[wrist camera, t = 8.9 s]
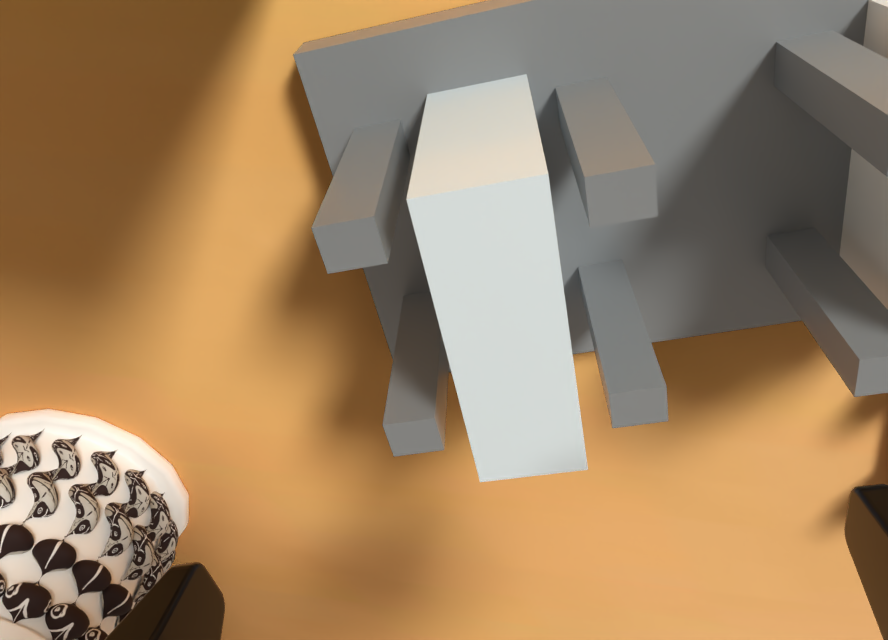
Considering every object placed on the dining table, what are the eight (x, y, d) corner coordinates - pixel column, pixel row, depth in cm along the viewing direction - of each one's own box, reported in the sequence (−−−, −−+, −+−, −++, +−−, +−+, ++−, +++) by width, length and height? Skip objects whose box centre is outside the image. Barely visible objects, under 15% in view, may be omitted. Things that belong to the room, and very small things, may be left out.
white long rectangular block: (560, 316, 20) (588, 469, 15) (479, 328, 20) (480, 482, 16) (526, 74, 16) (548, 174, 11) (427, 93, 17) (406, 199, 12)
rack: (1006, 264, 20) (1205, 421, 14) (402, 356, 23) (379, 517, 17) (1115, -144, 14) (1501, -137, 9) (303, 42, 17) (223, 133, 12)
